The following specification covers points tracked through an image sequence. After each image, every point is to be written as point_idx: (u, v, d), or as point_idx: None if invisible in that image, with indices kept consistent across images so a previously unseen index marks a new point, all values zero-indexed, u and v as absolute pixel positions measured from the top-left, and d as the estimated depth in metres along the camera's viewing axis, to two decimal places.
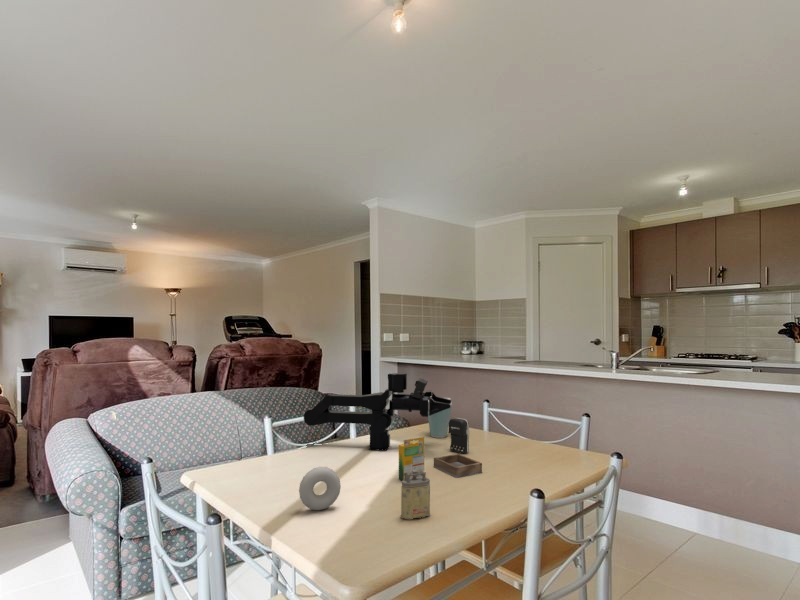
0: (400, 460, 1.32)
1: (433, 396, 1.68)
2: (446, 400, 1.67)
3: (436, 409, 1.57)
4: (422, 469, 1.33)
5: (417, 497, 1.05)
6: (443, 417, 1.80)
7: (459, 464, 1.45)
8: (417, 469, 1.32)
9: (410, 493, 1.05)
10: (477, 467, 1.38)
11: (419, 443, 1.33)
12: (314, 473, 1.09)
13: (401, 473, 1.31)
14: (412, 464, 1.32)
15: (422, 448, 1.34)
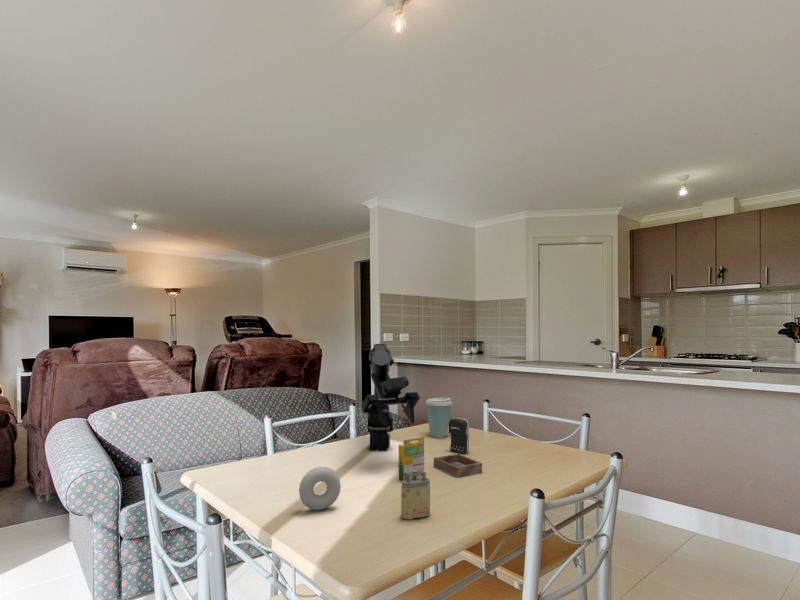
0: (400, 460, 1.32)
1: (408, 402, 1.46)
2: (411, 417, 1.44)
3: (377, 415, 1.41)
4: (422, 469, 1.33)
5: (417, 497, 1.05)
6: (443, 417, 1.80)
7: (459, 464, 1.45)
8: (417, 469, 1.32)
9: (409, 493, 1.05)
10: (477, 467, 1.38)
11: (419, 443, 1.33)
12: (314, 473, 1.09)
13: (401, 473, 1.31)
14: (412, 464, 1.32)
15: (422, 448, 1.34)
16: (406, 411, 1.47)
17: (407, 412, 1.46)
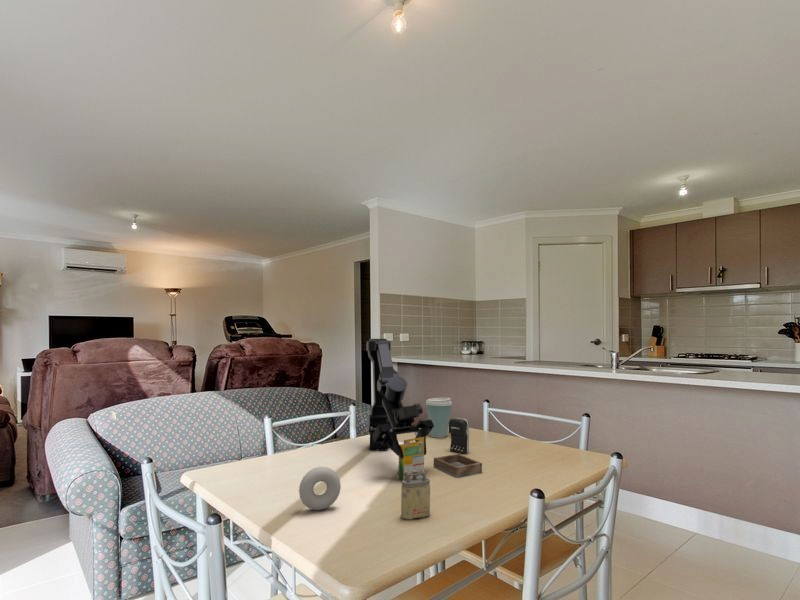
0: (400, 460, 1.32)
1: (420, 431, 1.38)
2: None
3: (391, 446, 1.33)
4: (422, 469, 1.33)
5: (417, 497, 1.05)
6: (443, 417, 1.80)
7: (459, 464, 1.45)
8: (417, 469, 1.32)
9: (410, 493, 1.05)
10: (477, 467, 1.38)
11: (419, 443, 1.33)
12: (314, 473, 1.09)
13: (401, 473, 1.31)
14: (412, 464, 1.32)
15: (422, 448, 1.34)
16: (417, 440, 1.38)
17: None
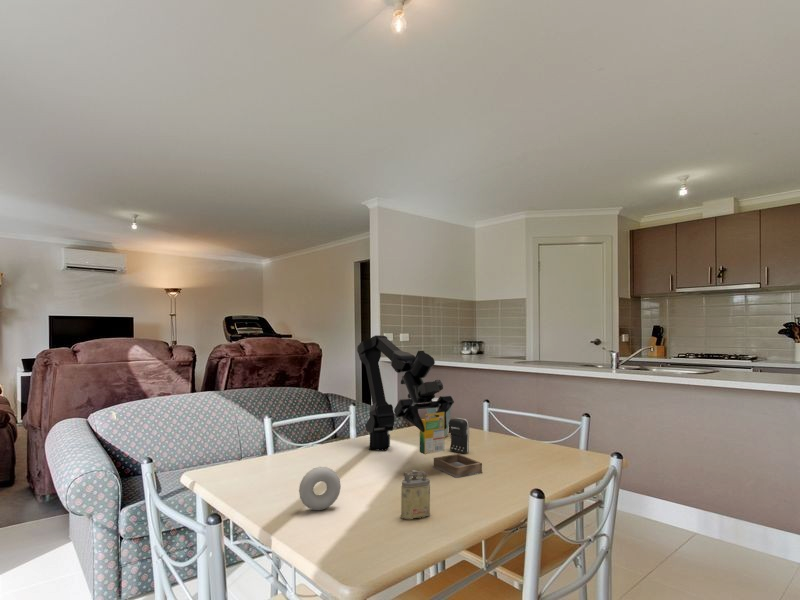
0: (421, 434, 1.36)
1: (440, 407, 1.41)
2: None
3: (412, 420, 1.37)
4: (442, 443, 1.37)
5: (417, 497, 1.05)
6: None
7: (459, 464, 1.45)
8: (437, 443, 1.36)
9: (410, 493, 1.05)
10: (477, 467, 1.38)
11: (439, 418, 1.37)
12: (314, 473, 1.09)
13: (422, 446, 1.35)
14: (433, 438, 1.36)
15: (442, 423, 1.38)
16: (438, 416, 1.42)
17: None
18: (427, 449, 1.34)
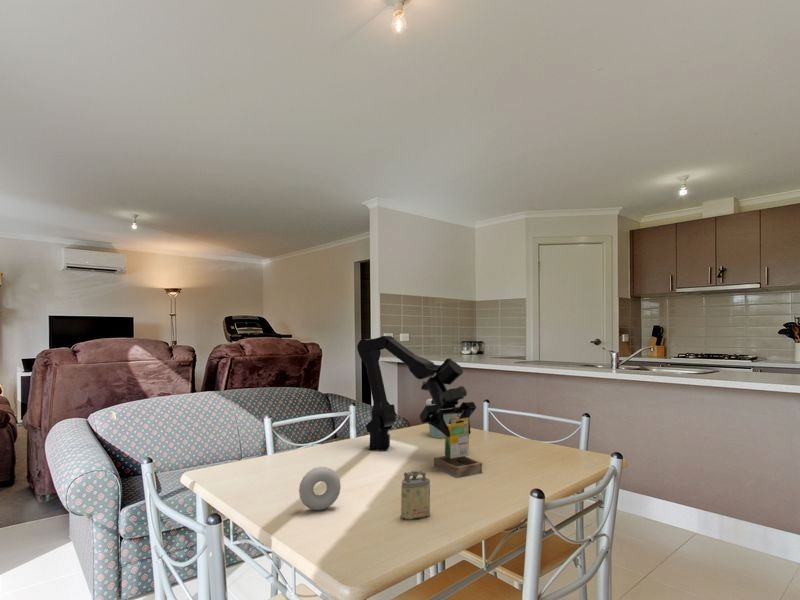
0: (447, 439, 1.40)
1: (464, 413, 1.46)
2: None
3: (438, 425, 1.42)
4: (467, 448, 1.42)
5: (417, 497, 1.05)
6: (443, 417, 1.80)
7: (459, 464, 1.45)
8: (462, 447, 1.41)
9: (410, 493, 1.05)
10: (477, 467, 1.38)
11: (464, 423, 1.42)
12: (314, 473, 1.09)
13: (448, 451, 1.39)
14: (458, 443, 1.40)
15: (467, 428, 1.42)
16: (461, 421, 1.47)
17: None
18: (452, 454, 1.39)
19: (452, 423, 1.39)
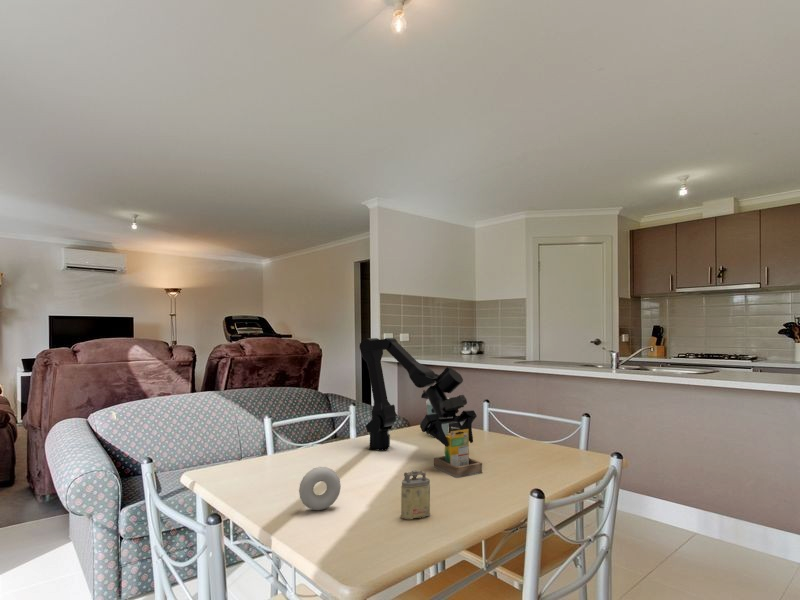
0: (446, 450, 1.40)
1: (466, 421, 1.46)
2: (469, 436, 1.43)
3: (436, 435, 1.41)
4: (467, 459, 1.42)
5: (417, 497, 1.05)
6: None
7: None
8: (462, 459, 1.41)
9: (410, 493, 1.05)
10: (477, 467, 1.38)
11: (464, 434, 1.42)
12: (314, 473, 1.09)
13: (448, 462, 1.39)
14: (458, 454, 1.40)
15: (467, 439, 1.42)
16: None
17: None
18: None
19: (452, 435, 1.39)
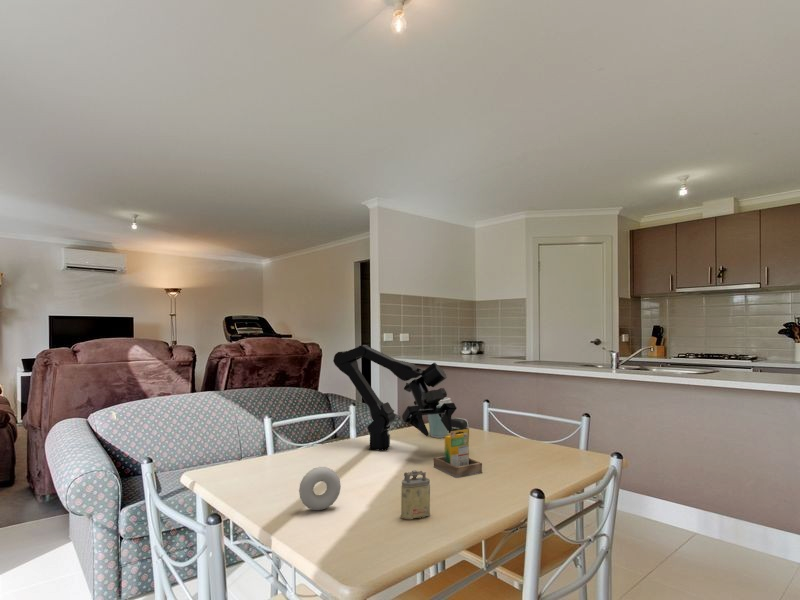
0: (446, 450, 1.40)
1: (446, 413, 1.55)
2: (449, 427, 1.52)
3: (417, 425, 1.50)
4: (467, 459, 1.42)
5: (417, 497, 1.05)
6: None
7: None
8: (462, 459, 1.41)
9: (410, 493, 1.05)
10: (477, 467, 1.38)
11: (464, 434, 1.42)
12: (314, 473, 1.09)
13: (448, 462, 1.39)
14: (458, 454, 1.40)
15: (467, 439, 1.42)
16: (444, 421, 1.56)
17: (445, 422, 1.55)
18: None
19: (452, 434, 1.39)
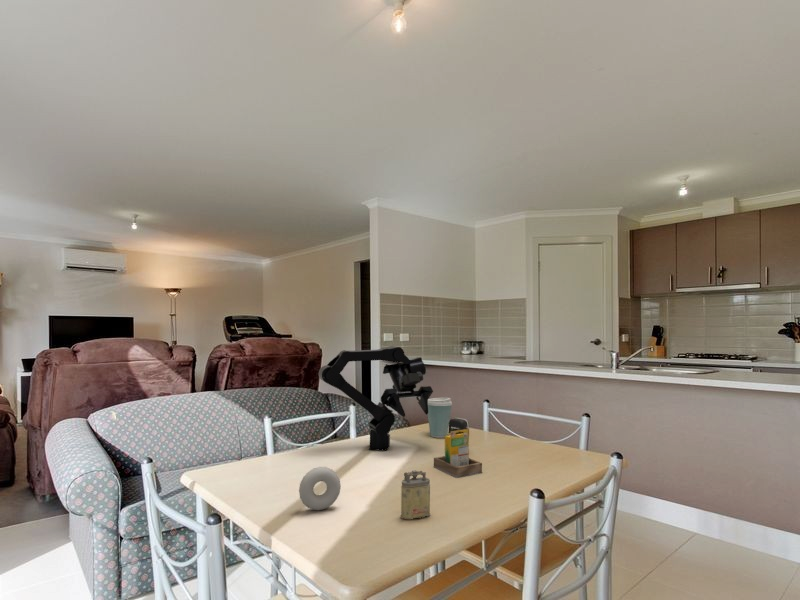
0: (446, 450, 1.40)
1: (423, 395, 1.62)
2: (425, 409, 1.60)
3: (394, 407, 1.57)
4: (467, 459, 1.42)
5: (417, 497, 1.05)
6: (443, 417, 1.80)
7: None
8: (462, 459, 1.41)
9: (410, 493, 1.05)
10: (477, 467, 1.38)
11: (464, 434, 1.42)
12: (314, 473, 1.09)
13: (448, 462, 1.39)
14: (458, 454, 1.40)
15: (467, 439, 1.42)
16: (421, 403, 1.63)
17: (421, 404, 1.62)
18: None
19: (452, 435, 1.39)
